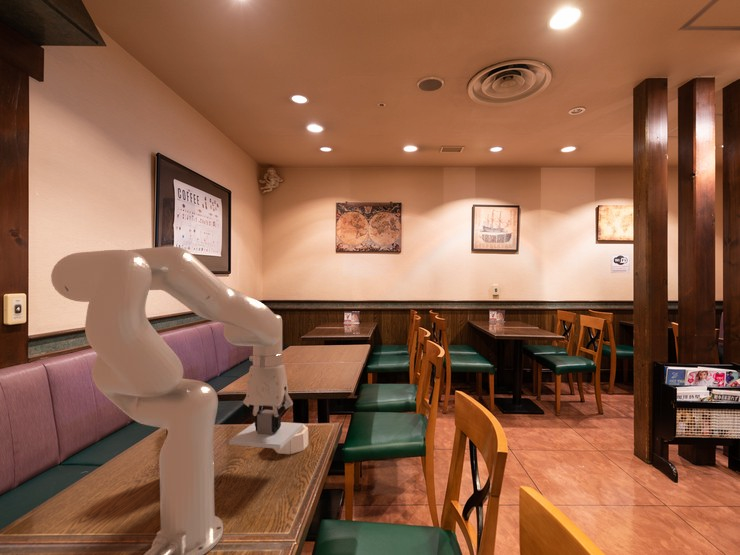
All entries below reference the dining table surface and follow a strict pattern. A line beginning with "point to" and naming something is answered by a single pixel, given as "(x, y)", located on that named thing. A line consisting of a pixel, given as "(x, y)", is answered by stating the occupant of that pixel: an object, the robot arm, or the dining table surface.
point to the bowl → (295, 442)
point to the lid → (266, 433)
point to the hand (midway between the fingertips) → (267, 429)
